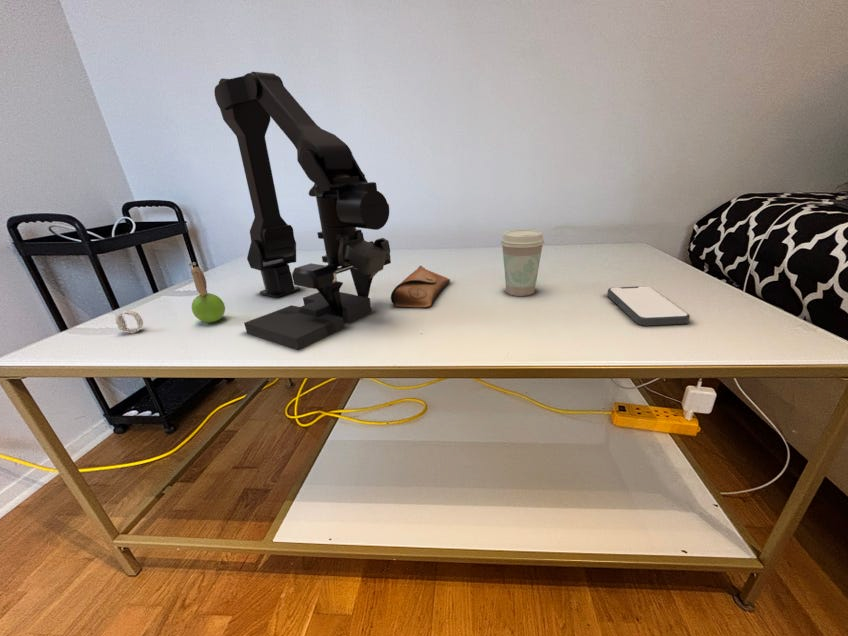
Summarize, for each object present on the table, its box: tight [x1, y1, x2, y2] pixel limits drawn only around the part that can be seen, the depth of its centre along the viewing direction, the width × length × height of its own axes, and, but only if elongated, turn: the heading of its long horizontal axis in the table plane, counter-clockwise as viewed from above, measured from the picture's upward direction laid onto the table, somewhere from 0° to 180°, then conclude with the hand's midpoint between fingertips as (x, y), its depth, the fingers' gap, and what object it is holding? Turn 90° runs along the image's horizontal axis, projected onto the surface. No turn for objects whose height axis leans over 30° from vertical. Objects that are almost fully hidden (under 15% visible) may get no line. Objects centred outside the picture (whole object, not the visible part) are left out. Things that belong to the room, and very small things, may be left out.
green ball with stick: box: [187, 261, 226, 323], centre depth 75 cm, size 5×6×12 cm
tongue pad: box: [299, 291, 373, 324], centre depth 78 cm, size 12×10×3 cm
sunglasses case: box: [390, 265, 451, 309], centre depth 87 cm, size 18×7×7 cm
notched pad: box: [243, 305, 345, 351], centre depth 72 cm, size 14×10×2 cm
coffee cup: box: [500, 229, 545, 297], centre depth 83 cm, size 9×9×12 cm
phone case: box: [606, 285, 691, 327], centre depth 74 cm, size 9×2×16 cm
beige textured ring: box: [114, 309, 144, 334], centre depth 74 cm, size 4×2×4 cm, turn 104°
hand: (352, 311), depth 77 cm, fingers closed on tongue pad, 6 cm apart
